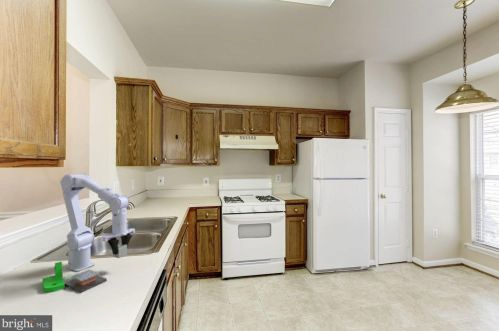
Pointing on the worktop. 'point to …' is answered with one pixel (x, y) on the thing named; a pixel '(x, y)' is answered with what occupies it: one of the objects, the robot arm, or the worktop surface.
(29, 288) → the worktop surface
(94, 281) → the dark grey rectangular tray
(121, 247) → the green-striped metal cube
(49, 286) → the mechanical part
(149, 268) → the worktop surface
